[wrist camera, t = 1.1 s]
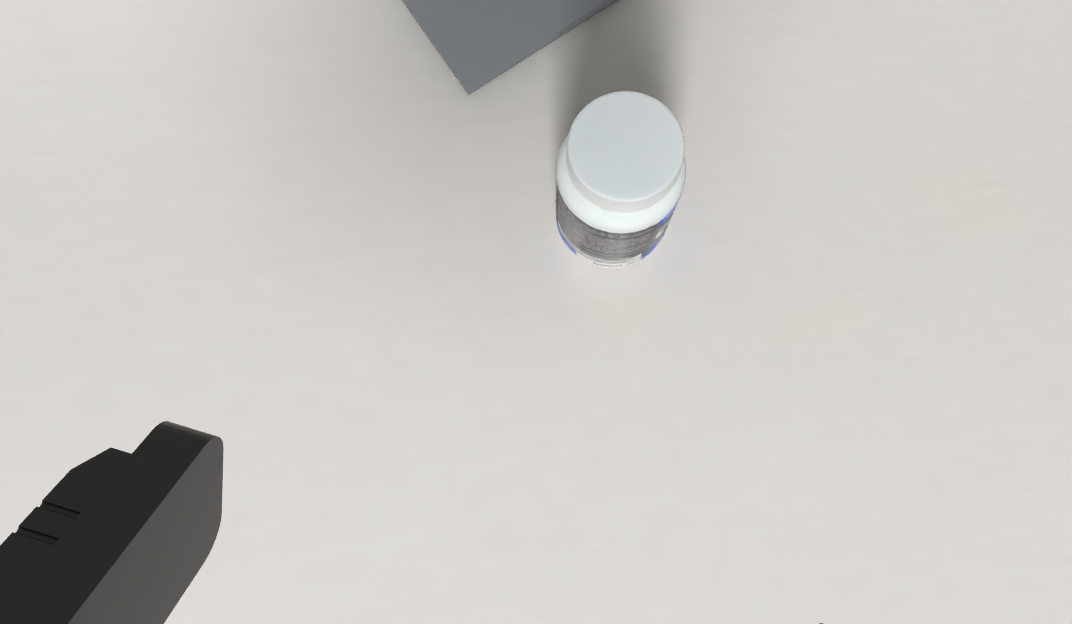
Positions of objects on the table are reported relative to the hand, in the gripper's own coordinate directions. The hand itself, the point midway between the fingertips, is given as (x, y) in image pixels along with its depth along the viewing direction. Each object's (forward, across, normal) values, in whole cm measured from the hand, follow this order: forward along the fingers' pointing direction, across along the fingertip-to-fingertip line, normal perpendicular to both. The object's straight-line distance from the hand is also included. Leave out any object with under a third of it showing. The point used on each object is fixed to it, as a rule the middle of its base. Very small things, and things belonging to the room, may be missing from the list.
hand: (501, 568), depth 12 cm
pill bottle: (+27, 0, +8) cm, 28 cm away
